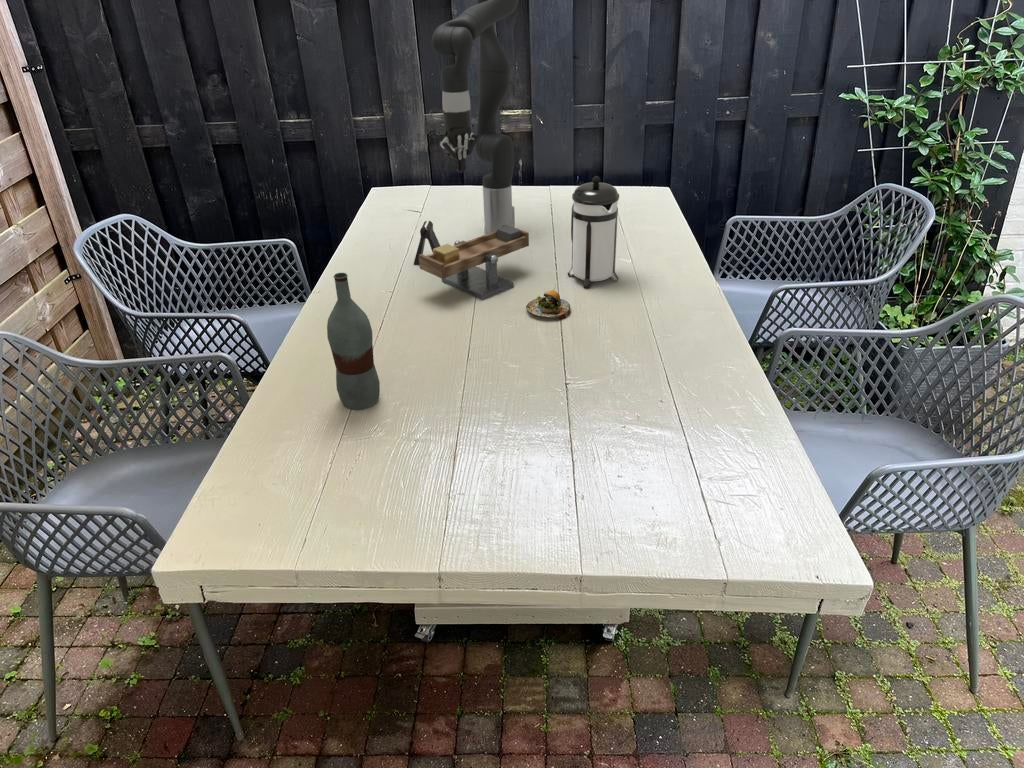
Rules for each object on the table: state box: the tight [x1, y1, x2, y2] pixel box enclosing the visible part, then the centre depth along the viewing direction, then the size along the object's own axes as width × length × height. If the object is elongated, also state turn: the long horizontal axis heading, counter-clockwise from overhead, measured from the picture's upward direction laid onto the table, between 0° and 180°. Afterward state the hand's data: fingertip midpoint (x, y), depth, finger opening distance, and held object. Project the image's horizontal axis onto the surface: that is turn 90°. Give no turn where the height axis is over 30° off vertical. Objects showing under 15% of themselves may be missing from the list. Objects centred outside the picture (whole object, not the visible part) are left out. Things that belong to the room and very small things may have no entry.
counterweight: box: [497, 226, 522, 242], centre depth 216 cm, size 4×6×3 cm, turn 43°
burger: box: [525, 284, 572, 321], centre depth 197 cm, size 12×12×8 cm
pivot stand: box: [441, 240, 515, 301], centre depth 212 cm, size 12×18×11 cm, turn 43°
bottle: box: [326, 272, 381, 411], centre depth 156 cm, size 9×9×30 cm
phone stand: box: [413, 220, 441, 266], centre depth 227 cm, size 9×6×12 cm, turn 86°
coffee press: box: [567, 175, 620, 289], centre depth 209 cm, size 17×16×30 cm
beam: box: [419, 224, 530, 280], centre depth 209 cm, size 32×10×4 cm, turn 133°
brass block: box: [432, 243, 460, 266], centre depth 202 cm, size 5×5×4 cm
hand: (460, 171), depth 210 cm, fingers closed
